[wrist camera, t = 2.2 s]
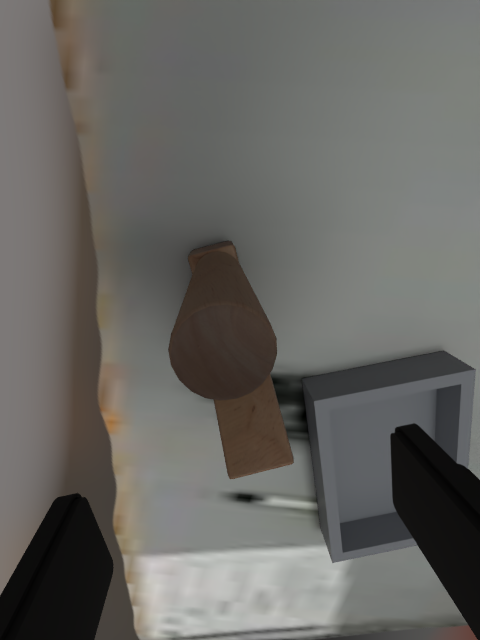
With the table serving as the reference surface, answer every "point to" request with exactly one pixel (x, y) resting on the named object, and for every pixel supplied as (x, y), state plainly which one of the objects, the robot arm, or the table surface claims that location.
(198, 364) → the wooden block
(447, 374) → the tray
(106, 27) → the table surface
